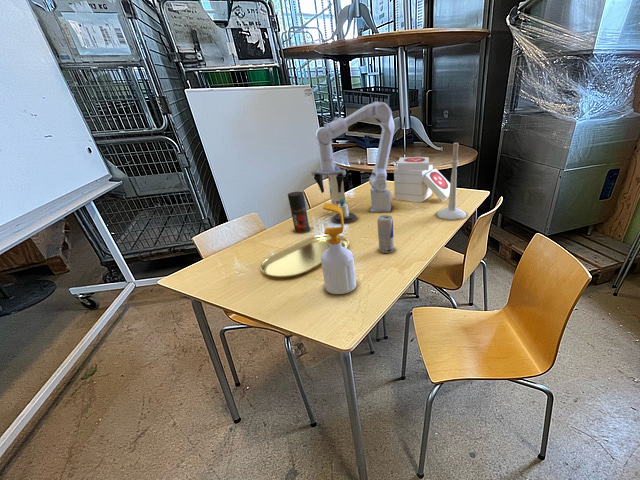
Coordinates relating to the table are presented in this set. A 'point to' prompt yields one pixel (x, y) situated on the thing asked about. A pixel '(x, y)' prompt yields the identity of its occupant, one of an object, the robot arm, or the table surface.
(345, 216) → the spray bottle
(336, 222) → the turntable base
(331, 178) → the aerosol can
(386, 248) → the energy drink
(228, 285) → the table surface
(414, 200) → the pizza boxes
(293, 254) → the serving platter
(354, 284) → the soap bottle
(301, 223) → the deodorant
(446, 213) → the candlestick
